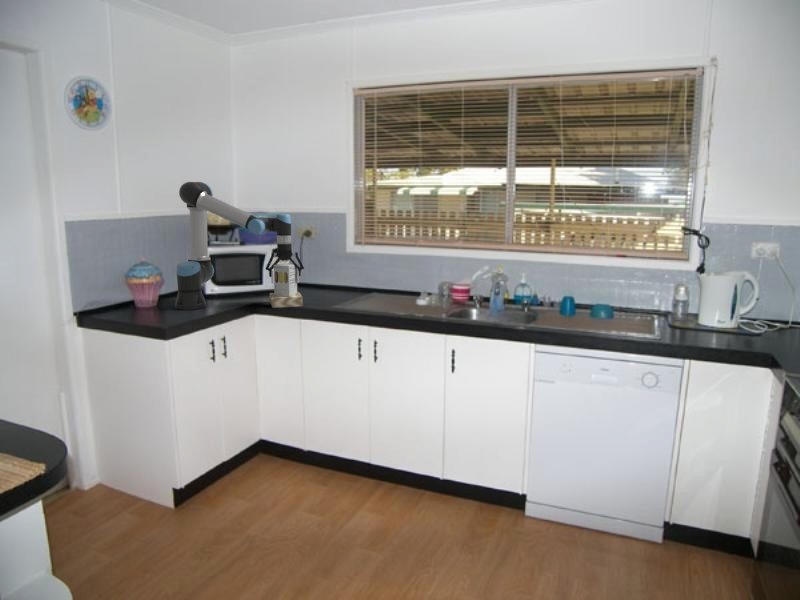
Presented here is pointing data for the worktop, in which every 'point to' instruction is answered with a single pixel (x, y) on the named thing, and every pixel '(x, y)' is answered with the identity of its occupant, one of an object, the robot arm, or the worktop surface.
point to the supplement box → (285, 280)
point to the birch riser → (286, 300)
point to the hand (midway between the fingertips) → (285, 282)
